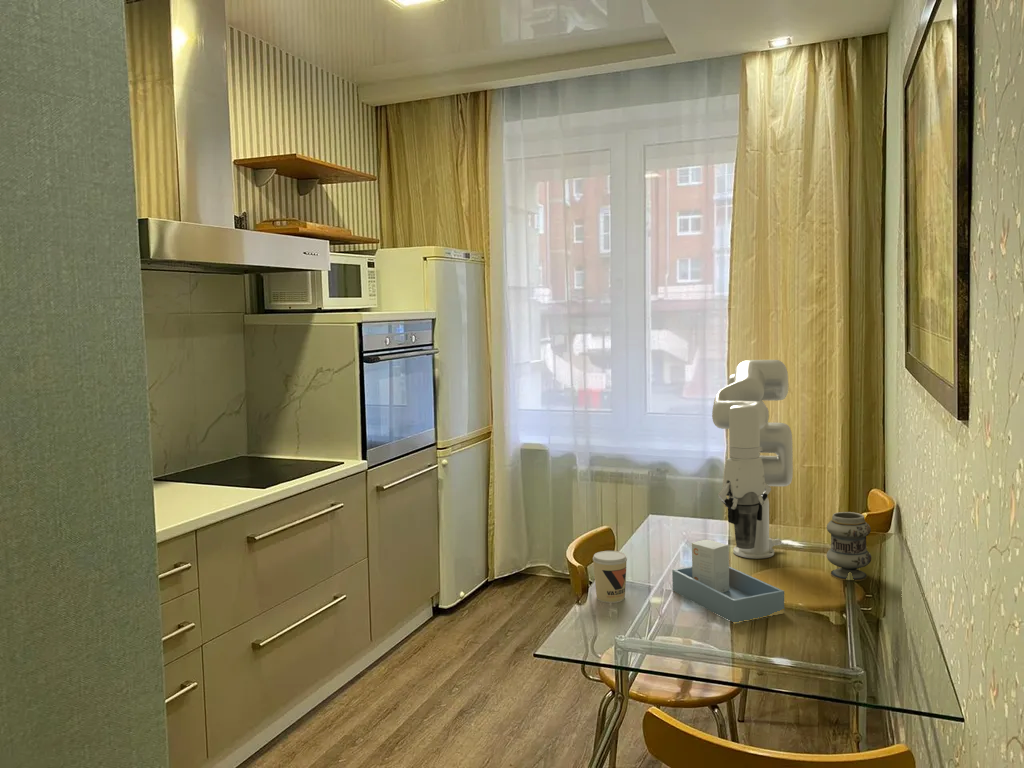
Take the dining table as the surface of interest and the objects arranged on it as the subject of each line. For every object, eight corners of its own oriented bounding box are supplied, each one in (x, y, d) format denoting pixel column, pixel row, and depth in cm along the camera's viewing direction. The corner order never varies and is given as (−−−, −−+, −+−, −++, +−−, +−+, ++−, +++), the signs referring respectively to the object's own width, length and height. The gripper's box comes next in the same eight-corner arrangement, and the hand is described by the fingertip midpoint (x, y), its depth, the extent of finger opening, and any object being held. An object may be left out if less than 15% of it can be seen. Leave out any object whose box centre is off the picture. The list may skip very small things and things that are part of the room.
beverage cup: (761, 543, 212) (761, 468, 210) (758, 551, 205) (757, 473, 203) (733, 541, 215) (732, 466, 213) (728, 549, 208) (727, 472, 206)
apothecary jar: (837, 566, 244) (837, 507, 242) (878, 574, 235) (878, 513, 234) (819, 576, 236) (819, 515, 234) (861, 585, 227) (861, 522, 225)
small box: (729, 590, 223) (729, 544, 222) (714, 596, 219) (714, 549, 218) (706, 583, 230) (706, 538, 229) (691, 588, 226) (691, 542, 225)
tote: (718, 582, 234) (718, 561, 233) (784, 613, 208) (784, 591, 208) (672, 590, 228) (672, 569, 227) (734, 624, 202) (733, 600, 202)
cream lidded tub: (606, 606, 217) (605, 562, 216) (587, 596, 226) (586, 553, 225) (634, 599, 222) (633, 556, 221) (615, 589, 230) (614, 548, 229)
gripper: (762, 447, 214) (762, 514, 216) (707, 454, 208) (708, 522, 209) (781, 452, 207) (781, 520, 209) (725, 458, 201) (726, 529, 202)
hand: (745, 520), depth 209 cm, fingers closed on beverage cup, 6 cm apart
